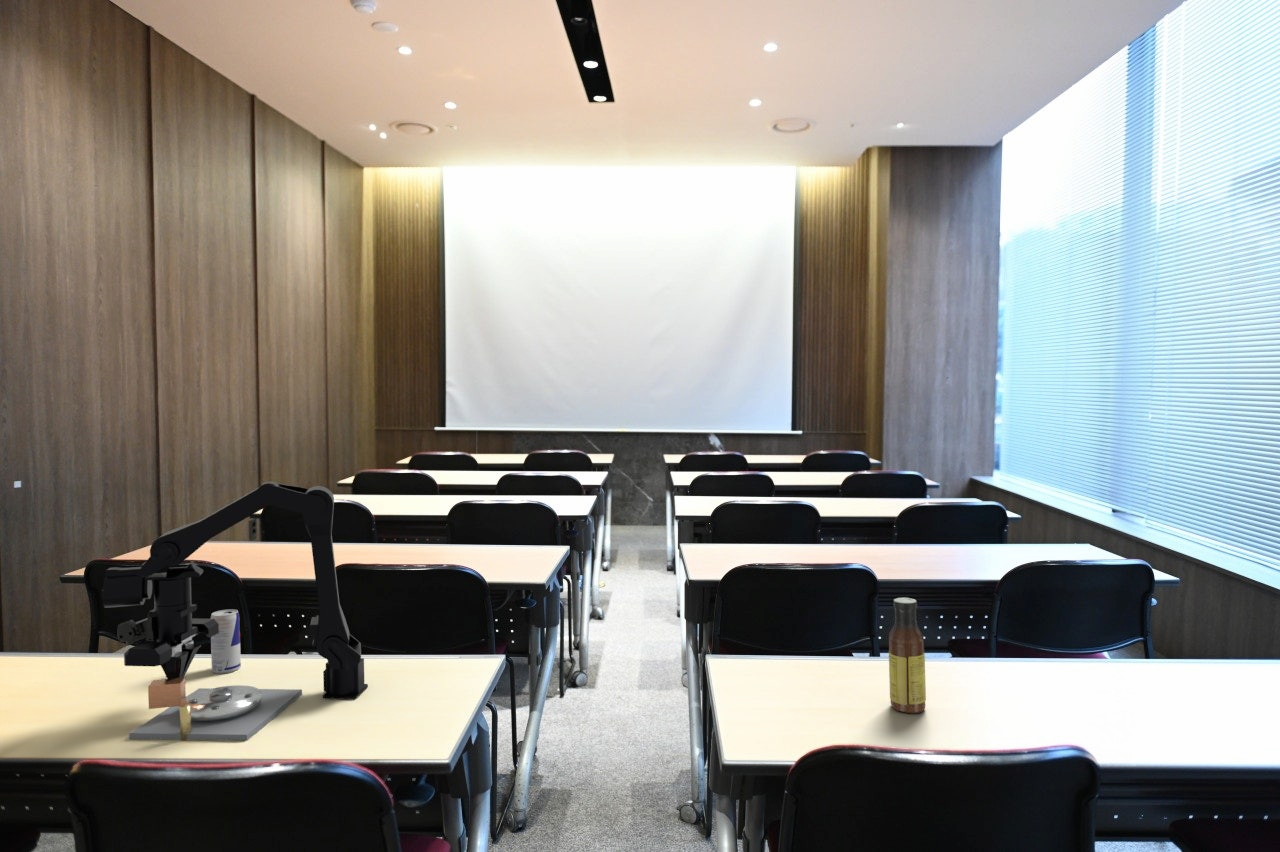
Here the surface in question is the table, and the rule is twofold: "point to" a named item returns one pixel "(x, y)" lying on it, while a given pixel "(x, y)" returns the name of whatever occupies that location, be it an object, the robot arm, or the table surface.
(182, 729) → the dowel
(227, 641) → the energy drink
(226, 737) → the base board
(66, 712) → the table surface
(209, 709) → the flange plate
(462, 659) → the table surface
